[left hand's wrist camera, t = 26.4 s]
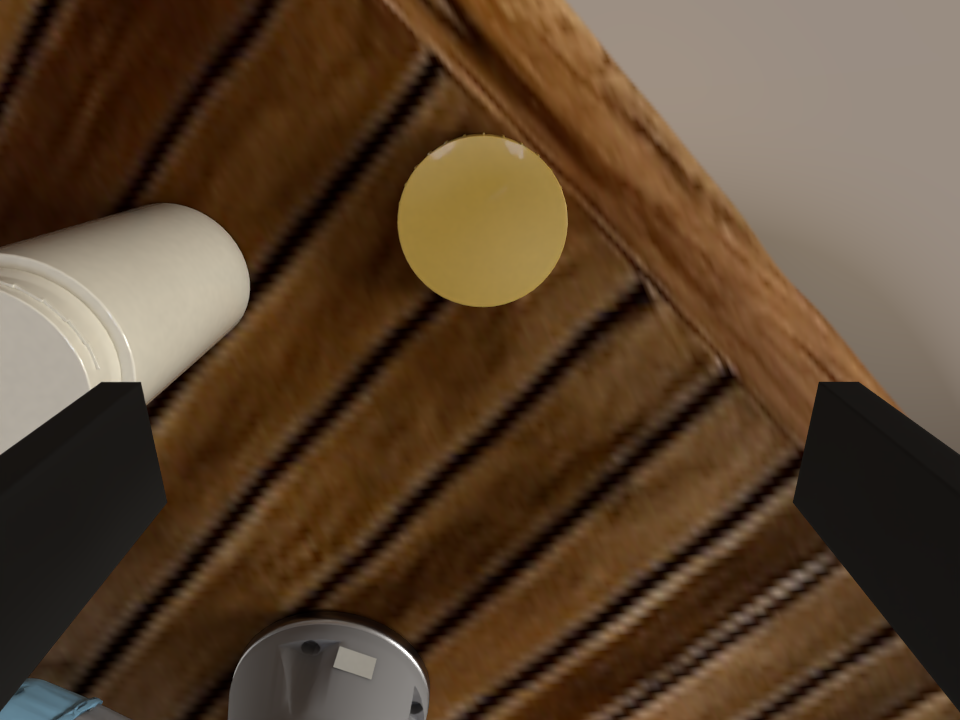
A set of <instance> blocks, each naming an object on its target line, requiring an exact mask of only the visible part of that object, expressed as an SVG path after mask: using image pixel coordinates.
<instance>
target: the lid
mask: <svg viewBox="0 0 960 720" xmlns="http://www.w3.org/2000/svg"><path fill="white" fill-rule="evenodd" d="M539 156H540V155H539V154H537V153H536V152H535V153H534V152H532V151H531V150H530V149H528V148H527V147H525V146H524V145H523V143H522V142H519V143H518V142H516V141H514V140H512V139H509V138H506V137H505V136H504V135H502V136H498V135H493V134H485V132H483V134H473V135H467V136H466V134H464V135H463V136H462V137H459V138H456V139H453V140H451V141H448V140H447V141H445V142H444V144H443V145H441V146H439V147H438V148H437V149H435V150H434V151H433V152H432V151H430V152H429V153H428V156H427V157H426V158H425V159H424V160H423V161H422V162H421V163H420V164H419V165H417V166H415V168H414V169H415V170H414V171H413V173H412V174H411V176H410V178H409V179H408V181H407V182H406V183H405V185H404V186H405V188H404V190H403V192H402V196H401V199H400V202H399V209H398V221H397V224H398V233H399V240H400V243H401V247H402V250H403V253H404V255H405V257H406V260H407V261H408V263H409V265H410V267H411V268H412V270H413V271H414V272H415V274H416V275H417V276H418V278H419V279H420V280H421V281H422V282H423V283H424V284H425V285H426V286H427V287H429V288H430V289H431V290H432V291H434V292H435V293H437V294H439V295H440V296H442V297H444V298H446V299H448V300H450V301H453V302H456V303H459V304H462V305H467V306H473V307H490V306H498V305H502V304H506V303H509V302H512V301H515V300H517V299H519V298H521V297H523V296H525V295H526V294H528V293H529V292H531V291H532V290H534V289H535V288H536V287H537V286H538V285H540V284H541V283H542V282H543V281H544V280H545V278H546V277H547V276H548V275H549V274H550V272H551V271H552V270H553V268H554V267H555V265H556V263H557V261H558V259H559V257H560V255H561V252H562V250H563V247H564V244H565V239H566V235H567V226H568V223H567V209H566V207H567V205H566V203H565V199H564V195H563V192H562V189H561V188H562V187H561V186H560V185H559V183H558V181H557V179H556V177H555V176H554V174H553V173H552V171H553V170H552V169H551V168H550V167H549V166H547V165H546V164H545V162H544V161H543V160H542V159H540V158H539Z"/></svg>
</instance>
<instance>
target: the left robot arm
mask: <svg viewBox="0 0 960 720" xmlns="http://www.w3.org/2000/svg"><path fill="white" fill-rule="evenodd" d="M166 503H167V500H166V495H165V490H164V486H163V481H162V477H161V472H160V467H159V463H158V458H157V453H156V449H155V444H154V440H153V435H152V430H151V426H150V421H149V416H148V412H147V407H146V403H145V398H144V393H143V389H142V384H141V382H101V383H99V384H98V385H96V386H95V387H94V388H92V389H91V390H90V391H88V392H87V393H85V394H84V395H83V396H81V397H80V398H78V399H77V400H76V401H74V402H73V403H71V404H70V405H69V406H67V407H66V408H65V409H63V410H62V411H60V412H59V413H58V414H56V415H55V416H53V417H52V418H51V419H49V420H48V421H46V422H45V423H44V424H42V425H41V426H40V427H38V428H37V429H35V430H34V431H33V432H31V433H30V434H28V435H27V436H26V437H24V438H23V439H21V440H20V441H19V442H17V443H16V444H15V445H13V446H12V447H10V448H9V449H8V450H6V451H5V452H3V453H2V454H1V455H0V720H132V719H130V718H128V717H126V716H123V715H121V714H119V713H117V712H115V711H113V710H111V709H109V708H107V707H105V706H103V705H101V704H102V702H103V701H102V700H100V699H99V698H96V697H93V698H90V699H88V698H86V697H84V696H81V695H79V694H76V693H74V692H71V691H69V690H67V689H64V688H62V687H59V686H57V685H54V684H52V683H49V682H47V681H45V680H41V679H35V678H28V676H29V675H30V674H31V673H32V671H33V670H34V669H35V668H36V666H37V665H38V664H39V663H40V661H41V660H42V659H43V658H44V656H45V655H46V654H47V653H48V651H49V650H50V649H51V648H52V646H53V645H54V644H55V643H56V641H57V640H58V639H59V638H60V636H61V635H62V634H63V633H64V631H65V630H66V629H67V627H68V626H69V625H70V624H71V622H72V621H73V620H74V619H75V617H76V616H77V615H78V614H79V612H80V611H81V610H82V609H83V607H84V606H85V605H86V604H87V602H88V601H89V600H90V599H91V597H92V596H93V595H94V594H95V592H96V591H97V590H98V589H99V587H100V586H101V585H102V584H103V582H104V581H105V580H106V579H107V577H108V576H109V575H110V573H111V572H112V571H113V570H114V568H115V567H116V566H117V565H118V563H119V562H120V561H121V560H122V558H123V557H124V556H125V555H126V553H127V552H128V551H129V550H130V548H131V547H132V546H133V545H134V543H135V542H136V541H137V540H138V538H139V537H140V536H141V535H142V533H143V532H144V531H145V530H146V528H147V527H148V526H149V525H150V523H151V522H152V521H153V519H154V518H155V517H156V516H157V514H158V513H159V512H160V511H161V509H162V508H163V507H164V506H165V504H166ZM793 503H794V504H795V506H796V507H797V508H798V509H799V511H800V512H801V513H802V514H803V516H804V517H805V518H806V519H807V521H808V522H809V523H810V525H811V526H812V527H813V528H814V530H815V531H816V532H817V533H818V535H819V536H820V537H821V538H822V540H823V541H824V542H825V543H826V545H827V546H828V547H829V548H830V550H831V551H832V552H833V553H834V555H835V556H836V557H837V558H838V560H839V561H840V562H841V563H842V565H843V566H844V567H845V568H846V570H847V571H848V572H849V573H850V575H851V576H852V577H853V579H854V580H855V581H856V582H857V584H858V585H859V586H860V587H861V589H862V590H863V591H864V592H865V594H866V595H867V596H868V597H869V599H870V600H871V601H872V602H873V604H874V605H875V606H876V607H877V609H878V610H879V611H880V612H881V614H882V615H883V616H884V617H885V619H886V620H887V621H888V622H889V624H890V625H891V626H892V627H893V629H894V630H895V631H896V633H897V634H898V635H899V636H900V638H901V639H902V640H903V641H904V643H905V644H906V645H907V646H908V648H909V649H910V650H911V651H912V653H913V654H914V655H915V656H916V658H917V659H918V660H919V661H920V663H921V664H922V665H923V666H924V668H925V669H926V670H927V671H928V673H929V674H930V675H931V676H932V678H933V679H934V680H935V681H936V683H937V684H938V685H939V686H940V688H941V689H942V690H943V692H944V693H945V694H946V695H947V697H948V698H949V699H950V700H951V702H952V703H953V704H954V705H955V707H956V708H957V709H958V710H959V712H960V455H959V454H958V453H957V452H955V451H954V450H952V449H951V448H950V447H948V446H947V445H945V444H944V443H943V442H941V441H940V440H939V439H937V438H936V437H934V436H933V435H932V434H930V433H929V432H927V431H926V430H925V429H923V428H922V427H920V426H919V425H918V424H916V423H915V422H914V421H912V420H911V419H909V418H908V417H907V416H905V415H904V414H902V413H901V412H900V411H898V410H897V409H895V408H894V407H893V406H891V405H890V404H889V403H887V402H886V401H884V400H883V399H882V398H880V397H879V396H877V395H876V394H875V393H873V392H872V391H870V390H869V389H868V388H866V387H865V386H864V385H862V384H861V383H859V382H819V384H818V389H817V393H816V398H815V403H814V407H813V412H812V416H811V421H810V426H809V430H808V435H807V440H806V444H805V449H804V453H803V458H802V463H801V467H800V472H799V476H798V481H797V486H796V490H795V495H794V500H793ZM429 695H430V683H429V677H428V672H427V670H426V667H425V665H424V663H423V661H422V659H421V657H420V656H419V654H418V653H417V651H416V650H415V649H414V648H413V647H412V646H411V645H410V644H409V643H408V642H407V641H406V640H405V639H404V638H403V637H402V636H400V635H399V634H398V633H396V632H395V631H393V630H392V629H390V628H388V627H386V626H385V625H383V624H381V623H378V622H376V621H374V620H371V619H368V618H366V617H362V616H358V615H354V614H349V613H343V612H332V611H319V612H308V613H302V614H297V615H294V616H290V617H287V618H284V619H282V620H279V621H277V622H275V623H273V624H271V625H270V626H268V627H266V628H265V629H263V630H262V631H261V632H260V633H258V634H257V635H256V636H255V637H254V638H253V639H252V640H251V642H250V643H249V644H248V645H247V647H246V648H245V650H244V652H243V654H242V656H241V658H240V661H239V663H238V665H237V668H236V670H235V673H234V676H233V680H232V684H231V688H230V694H229V709H228V720H426V716H427V713H428V707H429Z"/></svg>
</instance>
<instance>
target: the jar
mask: <svg viewBox="0 0 960 720" xmlns="http://www.w3.org/2000/svg"><path fill="white" fill-rule="evenodd" d="M249 293H250V280H249V273H248V269H247V266H246V262H245V260H244V257H243V255H242V253H241V251H240V249H239V248H238V246H237V244H236V243H235V241H234V240H233V239H232V237H231V236H230V235H229V234H228V233H227V232H226V231H225V230H224V229H223V228H222V227H221V226H220V225H219V224H218V223H216V222H215V221H214V220H212V219H211V218H209V217H208V216H206V215H205V214H203V213H201V212H199V211H197V210H194V209H192V208H189V207H186V206H182V205H178V204H170V203H155V204H149V205H145V206H141V207H138V208H134V209H131V210H127V211H124V212H120V213H117V214H113V215H110V216H106V217H103V218H99V219H96V220H92V221H89V222H85V223H82V224H78V225H75V226H71V227H68V228H64V229H61V230H57V231H54V232H50V233H47V234H43V235H40V236H36V237H33V238H29V239H26V240H22V241H19V242H16V243H12V244H9V245H5V246H2V247H0V455H1V454H2V453H3V452H5V451H6V450H8V449H9V448H10V447H12V446H13V445H15V444H16V443H17V442H19V441H20V440H21V439H23V438H24V437H26V436H27V435H28V434H30V433H31V432H33V431H34V430H35V429H37V428H38V427H40V426H41V425H42V424H44V423H45V422H46V421H48V420H49V419H51V418H52V417H53V416H55V415H56V414H58V413H59V412H60V411H62V410H63V409H65V408H66V407H67V406H69V405H70V404H71V403H73V402H74V401H76V400H77V399H78V398H80V397H81V396H83V395H84V394H85V393H87V392H88V391H90V390H91V389H92V388H94V387H95V386H96V385H98V384H99V383H101V382H141V384H142V389H143V393H144V398H145V403H146V405H147V404H148V403H150V402H151V401H152V400H153V399H154V398H155V397H156V396H157V395H159V394H160V393H161V392H162V391H163V390H164V389H165V388H166V387H168V386H169V385H170V384H171V383H172V382H173V381H174V380H176V379H177V378H178V377H179V376H180V375H181V374H182V373H183V372H185V371H186V370H187V369H188V368H189V367H190V366H191V365H192V364H194V363H195V362H196V361H197V360H198V359H199V358H200V357H201V356H203V355H204V354H205V353H206V352H207V351H208V350H209V349H210V348H212V347H213V346H214V345H215V344H216V343H217V342H218V341H219V340H221V339H222V338H223V337H224V336H225V335H226V334H227V333H229V332H230V331H231V330H232V329H233V328H234V327H235V326H236V325H237V323H238V322H239V321H240V319H241V318H242V316H243V314H244V312H245V310H246V307H247V304H248V300H249Z"/></svg>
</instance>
